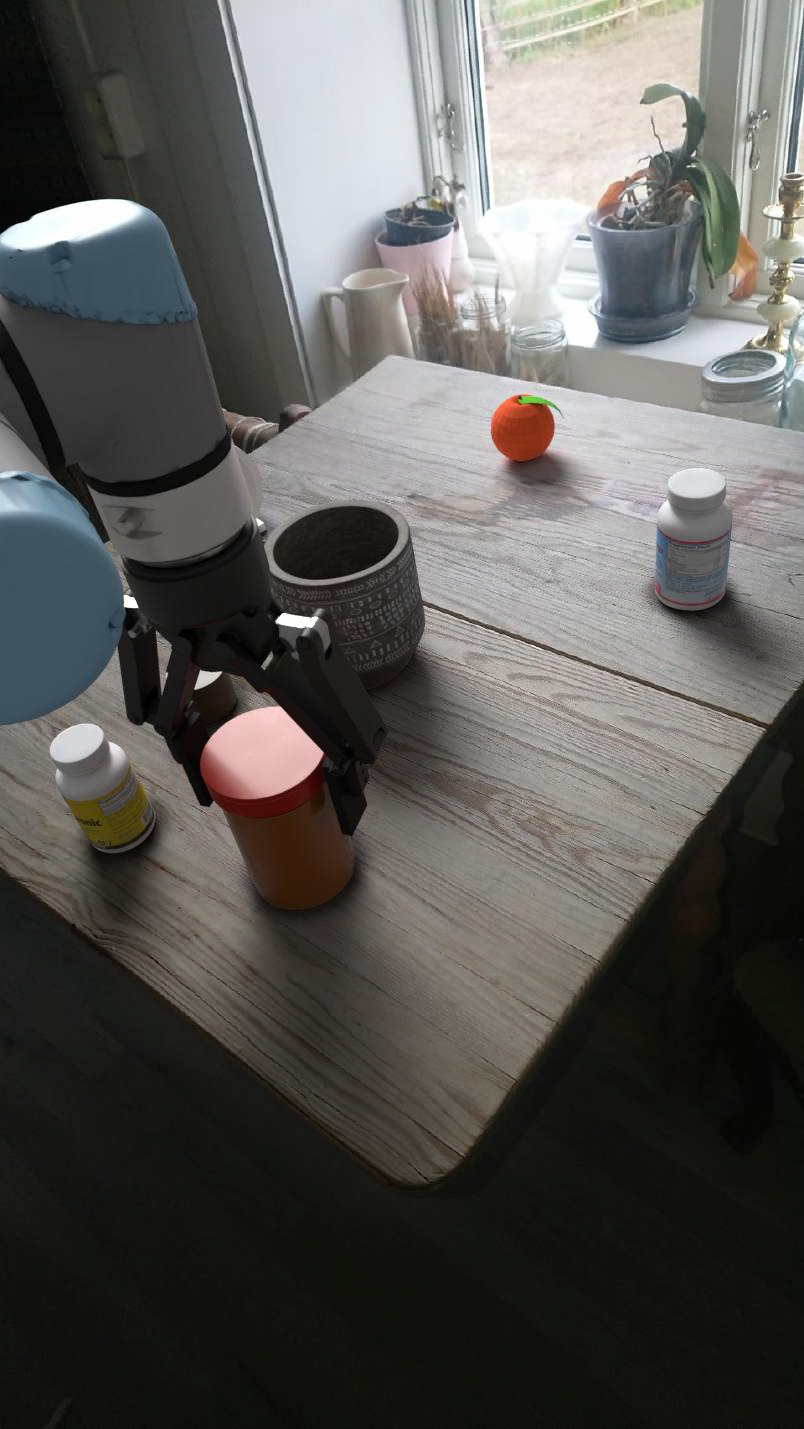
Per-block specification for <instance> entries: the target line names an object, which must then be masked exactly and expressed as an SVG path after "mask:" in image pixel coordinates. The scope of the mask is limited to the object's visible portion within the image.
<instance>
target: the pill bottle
mask: <svg viewBox="0 0 804 1429" xmlns="http://www.w3.org/2000/svg"><path fill="white" fill-rule="evenodd" d="M666 490H667V492H666V498H667V500H665V501H664V502H663V504H661V506H660V508H659V510H658V513H657V519H656V537H655V538H656V539H655V564H654V566H655V567H654V592H655V595H656V597H657V598H658V600H659V601H660V602H661V603H662V604H664V605H665V606H667V607H670V608H673V609H676V610H681V611H702V610H707V609H709V608H711V607H713V606H715V605H716V604H718V603H719V602H720V601H721V600H722V599H723V597H724V595H725V594H726V590H727V580H728V571H729V561H730V560H729V559H730V549H731V539H732V528H733V511H732V507H731V506H730V504H728V502H727V501H726V500H725V499H726V498H727V481H726V478H725V477H724V476H723V475H722V474H721V473H720V472H718V471H716V470H713V469H709V468H703V467H692V468H687V469H683V470H682V469H681V470H680V471H677V472H676V473H674V474H673V475H671V477H670V478H669V479H668V482H667V489H666Z"/></svg>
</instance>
